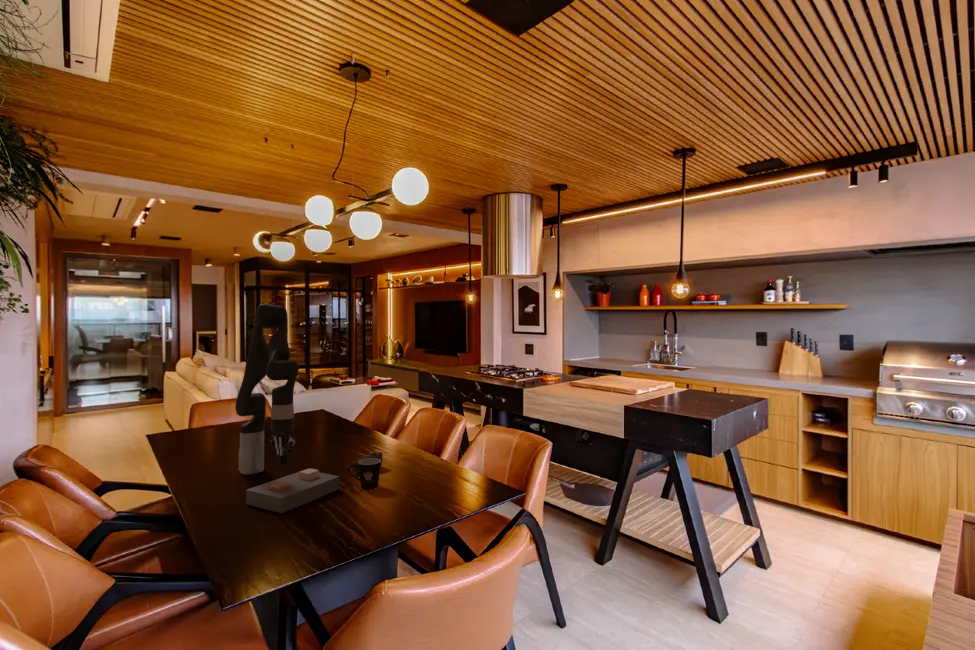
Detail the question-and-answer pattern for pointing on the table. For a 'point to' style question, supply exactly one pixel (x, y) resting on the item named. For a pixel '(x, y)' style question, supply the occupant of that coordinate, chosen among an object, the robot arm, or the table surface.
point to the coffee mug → (368, 473)
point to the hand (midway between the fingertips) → (282, 465)
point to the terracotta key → (279, 486)
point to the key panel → (291, 492)
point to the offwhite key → (308, 474)
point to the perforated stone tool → (374, 455)
